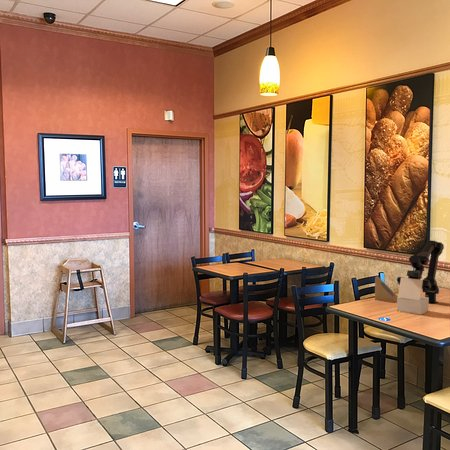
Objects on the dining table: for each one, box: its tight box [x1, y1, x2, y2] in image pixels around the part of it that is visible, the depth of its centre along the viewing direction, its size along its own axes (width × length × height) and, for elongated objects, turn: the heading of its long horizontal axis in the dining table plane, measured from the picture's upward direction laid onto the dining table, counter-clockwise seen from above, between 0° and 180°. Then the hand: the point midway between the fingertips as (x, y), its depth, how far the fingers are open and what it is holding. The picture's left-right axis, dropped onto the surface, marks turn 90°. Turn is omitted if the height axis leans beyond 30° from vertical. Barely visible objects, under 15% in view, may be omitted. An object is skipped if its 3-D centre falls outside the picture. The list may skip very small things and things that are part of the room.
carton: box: [396, 296, 430, 316], centre depth 290 cm, size 12×14×8 cm
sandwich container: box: [374, 275, 398, 303], centre depth 319 cm, size 9×15×15 cm, turn 64°
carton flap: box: [397, 277, 424, 301], centre depth 286 cm, size 12×13×1 cm
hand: (409, 294), depth 286 cm, fingers closed, pressing on carton flap
